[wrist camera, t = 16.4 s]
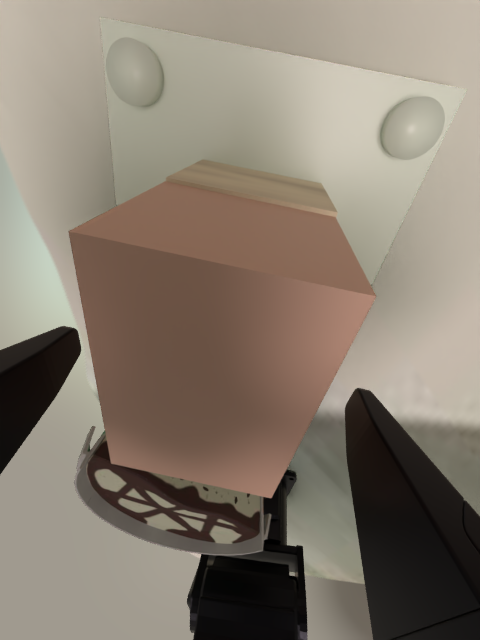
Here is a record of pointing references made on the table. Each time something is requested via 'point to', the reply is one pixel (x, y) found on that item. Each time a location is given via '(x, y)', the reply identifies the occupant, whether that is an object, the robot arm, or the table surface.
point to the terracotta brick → (215, 330)
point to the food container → (169, 506)
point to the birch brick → (256, 186)
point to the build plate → (273, 123)
